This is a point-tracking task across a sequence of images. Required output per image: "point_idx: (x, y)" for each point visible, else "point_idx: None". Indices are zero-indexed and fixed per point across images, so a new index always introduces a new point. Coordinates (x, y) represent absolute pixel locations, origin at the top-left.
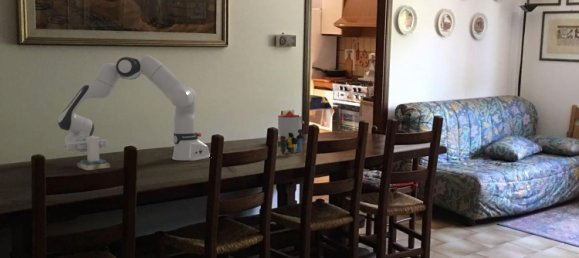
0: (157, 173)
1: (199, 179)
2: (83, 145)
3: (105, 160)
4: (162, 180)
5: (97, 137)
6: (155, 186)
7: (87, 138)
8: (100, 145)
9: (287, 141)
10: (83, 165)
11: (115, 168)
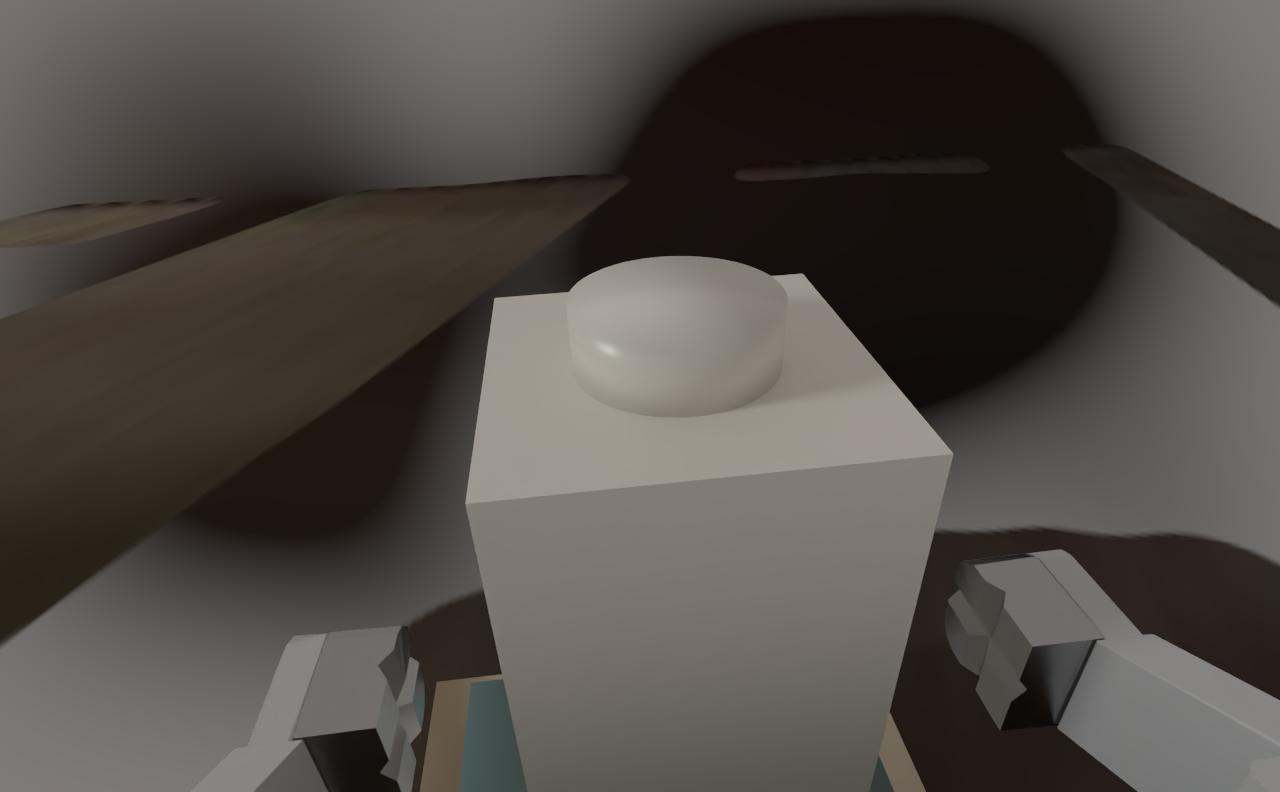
0: (340, 317)
1: (326, 208)
2: (1000, 558)
3: (480, 689)
4: (462, 229)
5: (496, 331)
6: (559, 192)
7: (889, 405)
8: (404, 652)
9: None
10: (908, 755)
11: (437, 612)
